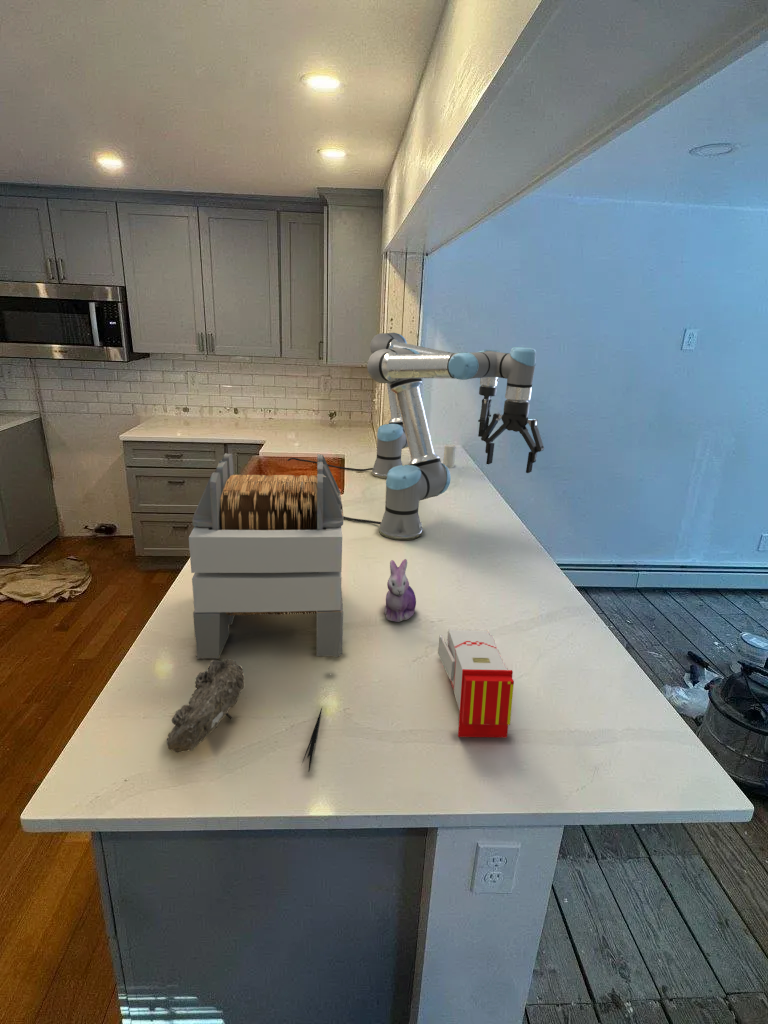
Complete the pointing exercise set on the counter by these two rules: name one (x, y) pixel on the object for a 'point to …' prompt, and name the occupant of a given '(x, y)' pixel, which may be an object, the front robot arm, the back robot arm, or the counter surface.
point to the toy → (478, 682)
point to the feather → (313, 740)
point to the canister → (449, 455)
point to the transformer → (267, 553)
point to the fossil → (206, 705)
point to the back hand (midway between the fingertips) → (483, 433)
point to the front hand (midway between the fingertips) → (508, 467)
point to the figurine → (399, 594)
